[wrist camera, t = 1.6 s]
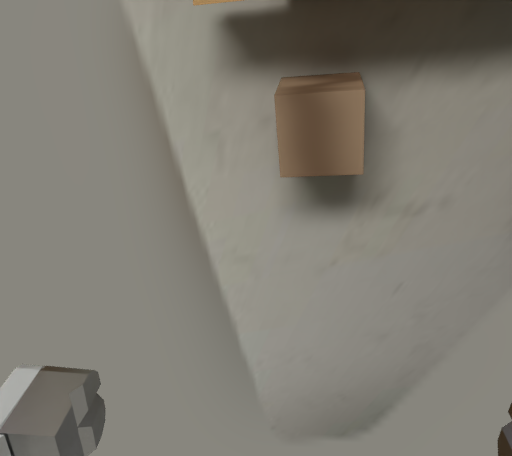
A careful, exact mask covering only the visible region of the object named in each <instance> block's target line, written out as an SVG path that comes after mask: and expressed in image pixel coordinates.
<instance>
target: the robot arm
mask: <svg viewBox="0 0 512 456" xmlns="http://www.w3.org/2000/svg"><path fill="white" fill-rule="evenodd" d="M100 385H101V383H100V378H99V374H98V372H97V371H95V370H88V369H77V368H65V367H55V366H39V365H28V364H22V365H20V366H19V367H17V368H15V369H14V370H13V372H12V373H11V374H10V376H9V377H8V378H7V380H6V381H5V382H4V384H3V385H2V386H1V388H0V456H88V455H89V454H90V453H92V452H93V451H94V450H95V449H96V448H97V446H98V444H99V441H100V439H101V436H102V432H103V428H104V423H105V404H104V400H103V399H102V398H101V397H100V396H99V395H98V394H97V391H98V389H99V387H100ZM508 413H509V415H510V417H511V419H512V403H511V405H510V408H509V410H508ZM498 456H512V421H511V422H510V423H508V424H507V425H505V426H504V427H502V429H501V432H500V435H499V438H498Z"/></svg>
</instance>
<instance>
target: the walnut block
mask: <svg viewBox="0 0 512 456" xmlns="http://www.w3.org/2000/svg"><path fill="white" fill-rule="evenodd" d="M274 97H275V110H276V124H277V137H278V151H279V164H280V177H303V176H331V175H359V174H363V166H364V116H365V88H364V85H363V82H362V79H361V76H360V73H359V72H353V73H339V74H325V75H312V76H298V77H284V78H281V80H280V83H279V85H278V88H277V90H276V93H275V95H274Z"/></svg>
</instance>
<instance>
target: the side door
mask: <svg viewBox="0 0 512 456" xmlns="http://www.w3.org/2000/svg"><path fill="white" fill-rule="evenodd" d="M232 1H242V0H193V4H194V5H202V4H212V3H222V2H232Z"/></svg>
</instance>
